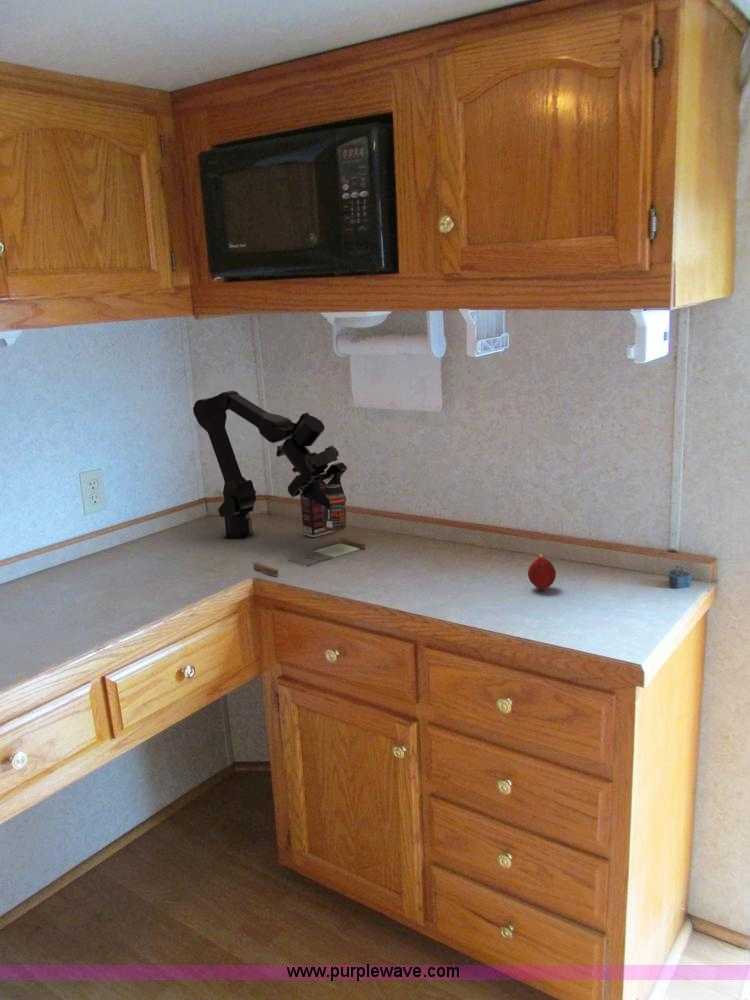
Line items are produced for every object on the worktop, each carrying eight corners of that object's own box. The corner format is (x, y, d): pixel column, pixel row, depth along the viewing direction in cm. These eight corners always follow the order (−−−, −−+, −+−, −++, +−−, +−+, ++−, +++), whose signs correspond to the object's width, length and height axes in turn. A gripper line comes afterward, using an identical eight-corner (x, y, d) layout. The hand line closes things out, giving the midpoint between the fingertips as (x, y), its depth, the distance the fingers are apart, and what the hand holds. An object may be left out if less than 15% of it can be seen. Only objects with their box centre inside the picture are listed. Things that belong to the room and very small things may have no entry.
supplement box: (327, 528, 234) (323, 473, 230) (337, 531, 230) (333, 476, 227) (302, 535, 229) (297, 479, 225) (312, 538, 225) (308, 481, 221)
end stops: (274, 577, 195) (274, 570, 195) (253, 569, 202) (253, 563, 201) (365, 549, 213) (364, 543, 213) (343, 542, 220) (342, 537, 219)
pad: (333, 557, 207) (333, 556, 207) (314, 551, 213) (314, 550, 213) (359, 549, 213) (359, 548, 213) (340, 544, 219) (340, 543, 218)
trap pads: (306, 566, 202) (306, 565, 202) (287, 559, 208) (287, 558, 208) (332, 558, 207) (332, 557, 207) (312, 552, 213) (312, 551, 213)
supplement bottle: (333, 533, 207) (330, 489, 205) (318, 529, 212) (315, 486, 209) (351, 528, 211) (349, 485, 208) (336, 524, 216) (334, 481, 213)
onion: (561, 589, 177) (561, 553, 175) (545, 596, 173) (545, 560, 171) (538, 583, 181) (538, 548, 179) (522, 591, 177) (522, 555, 175)
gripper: (293, 443, 201) (332, 492, 197) (339, 431, 215) (376, 476, 212) (271, 472, 207) (308, 520, 204) (317, 458, 222) (352, 503, 218)
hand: (337, 504), depth 209 cm, fingers closed on supplement bottle, 6 cm apart
